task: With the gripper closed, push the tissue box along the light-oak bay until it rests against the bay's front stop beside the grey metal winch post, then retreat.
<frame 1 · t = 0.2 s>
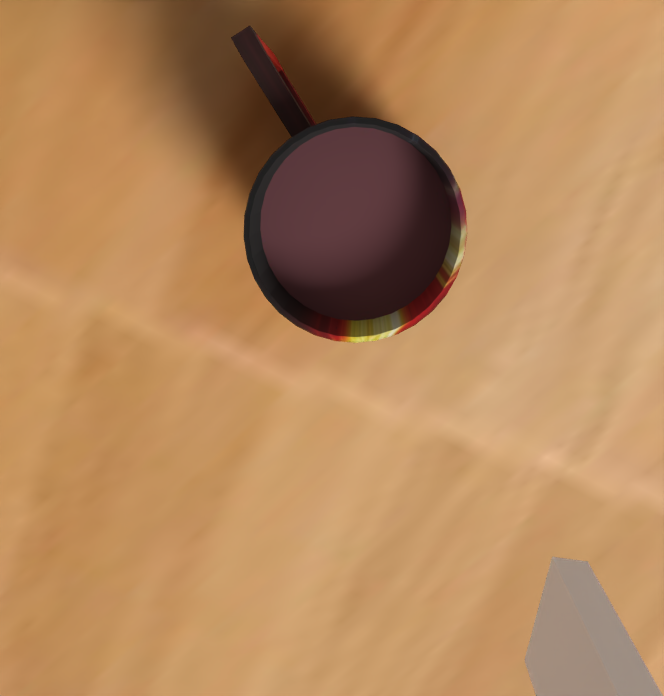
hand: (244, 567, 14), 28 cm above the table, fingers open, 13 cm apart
mug: (328, 193, 38), on the table
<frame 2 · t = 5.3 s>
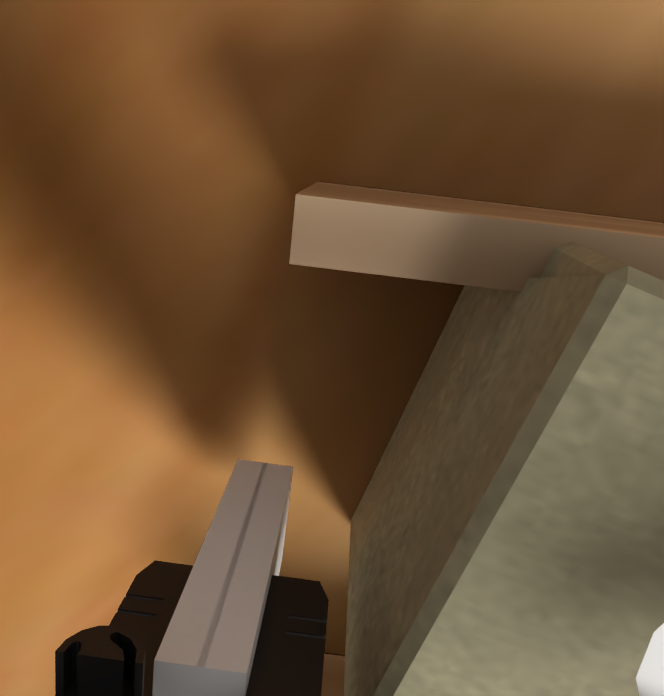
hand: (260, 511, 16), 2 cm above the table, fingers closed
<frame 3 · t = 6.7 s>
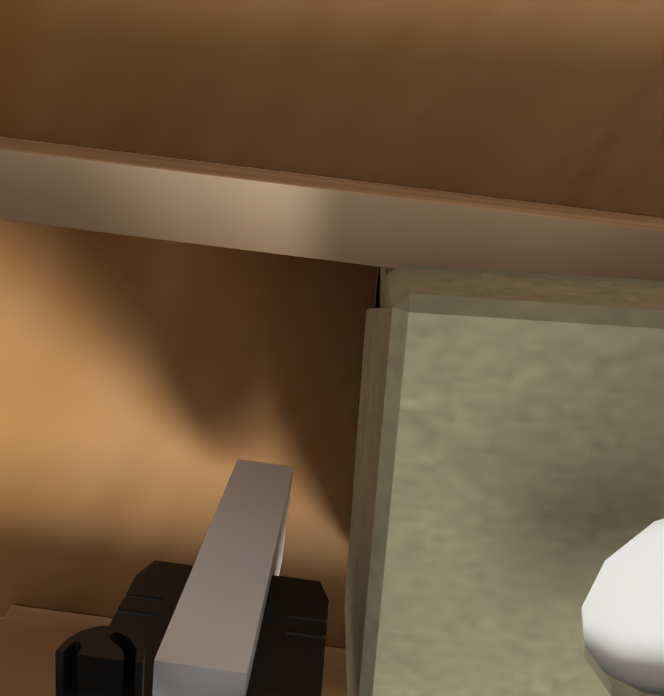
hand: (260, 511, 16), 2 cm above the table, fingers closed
bay: (560, 489, 18), on the table
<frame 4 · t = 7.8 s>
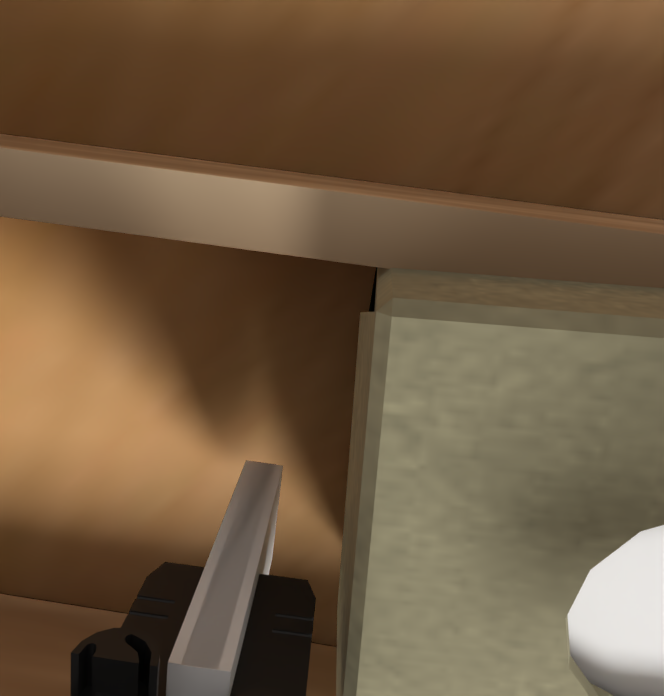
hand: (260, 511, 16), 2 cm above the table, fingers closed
bay: (465, 478, 18), on the table
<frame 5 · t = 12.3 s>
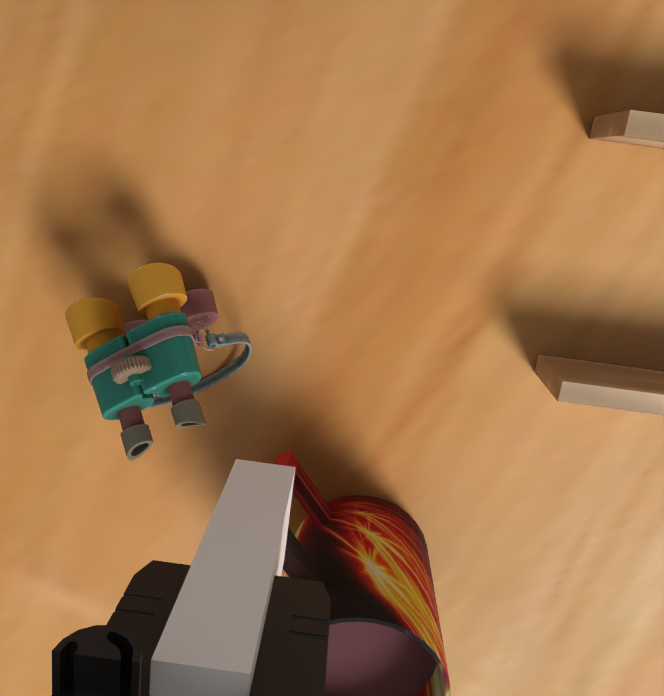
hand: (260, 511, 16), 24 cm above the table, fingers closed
mug: (334, 539, 44), on the table
binoculars: (177, 327, 40), on the table
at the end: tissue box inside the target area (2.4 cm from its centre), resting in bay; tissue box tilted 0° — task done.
